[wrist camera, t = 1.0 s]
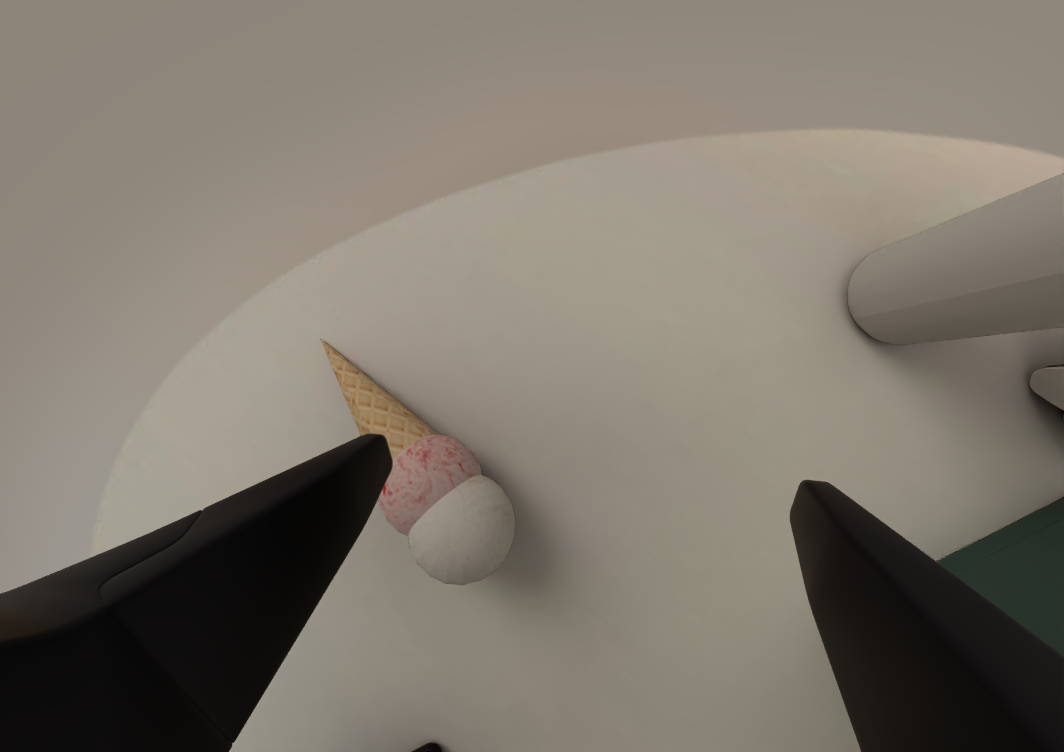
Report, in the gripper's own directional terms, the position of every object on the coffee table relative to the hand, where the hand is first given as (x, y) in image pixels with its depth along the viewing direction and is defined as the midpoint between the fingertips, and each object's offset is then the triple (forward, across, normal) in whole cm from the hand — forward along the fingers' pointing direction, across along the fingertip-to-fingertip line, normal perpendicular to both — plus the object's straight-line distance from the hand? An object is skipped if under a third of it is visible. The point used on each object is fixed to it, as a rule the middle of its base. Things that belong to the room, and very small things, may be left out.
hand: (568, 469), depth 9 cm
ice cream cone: (+8, +10, +7) cm, 15 cm away
